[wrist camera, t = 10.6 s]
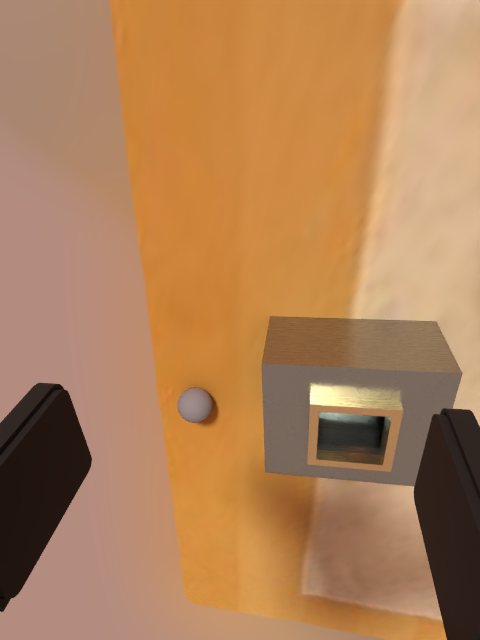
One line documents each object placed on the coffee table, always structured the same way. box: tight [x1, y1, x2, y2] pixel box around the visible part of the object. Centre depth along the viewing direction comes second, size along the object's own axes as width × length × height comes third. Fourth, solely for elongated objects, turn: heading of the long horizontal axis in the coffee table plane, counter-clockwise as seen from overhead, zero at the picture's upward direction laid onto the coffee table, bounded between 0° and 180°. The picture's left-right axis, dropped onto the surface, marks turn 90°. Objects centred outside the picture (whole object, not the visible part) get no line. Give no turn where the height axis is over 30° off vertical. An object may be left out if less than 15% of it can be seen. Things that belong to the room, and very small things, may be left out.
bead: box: [178, 387, 212, 423], centre depth 47 cm, size 4×4×4 cm
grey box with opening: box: [262, 317, 462, 486], centre depth 40 cm, size 16×14×9 cm
